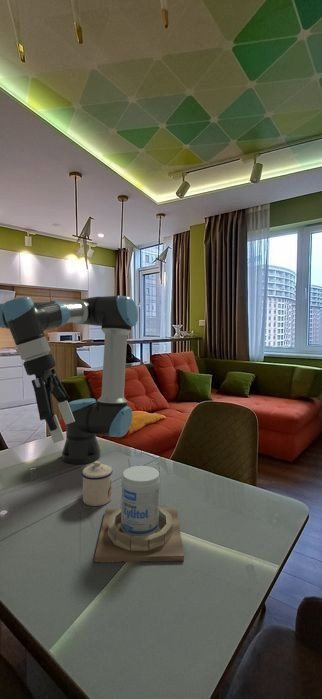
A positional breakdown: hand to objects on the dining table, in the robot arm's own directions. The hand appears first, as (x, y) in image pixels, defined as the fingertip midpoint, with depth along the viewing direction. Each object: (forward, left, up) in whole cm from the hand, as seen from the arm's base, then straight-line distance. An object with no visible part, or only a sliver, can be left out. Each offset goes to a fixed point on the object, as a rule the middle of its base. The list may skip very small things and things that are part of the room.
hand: (65, 431), depth 89 cm
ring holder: (+7, +20, -24) cm, 33 cm away
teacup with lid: (-12, +6, -25) cm, 28 cm away
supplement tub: (+7, +20, -23) cm, 32 cm away
